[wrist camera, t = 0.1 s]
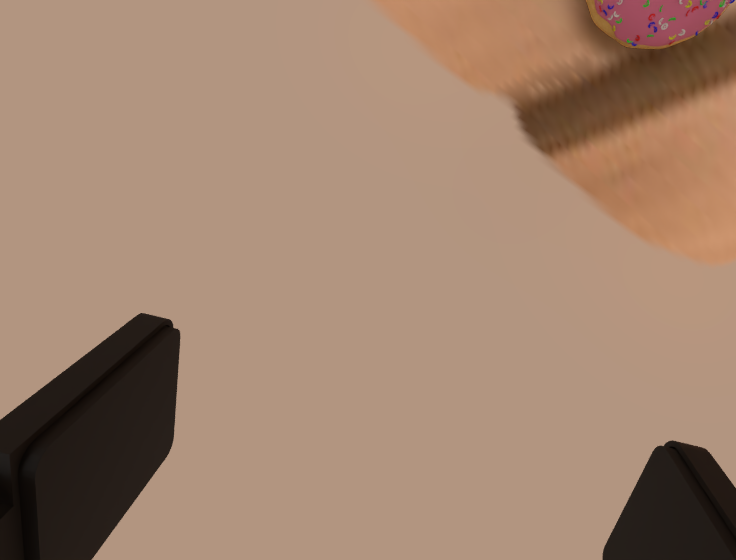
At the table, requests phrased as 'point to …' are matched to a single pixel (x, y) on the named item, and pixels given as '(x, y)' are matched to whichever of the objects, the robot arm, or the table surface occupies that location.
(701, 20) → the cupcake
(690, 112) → the table surface
